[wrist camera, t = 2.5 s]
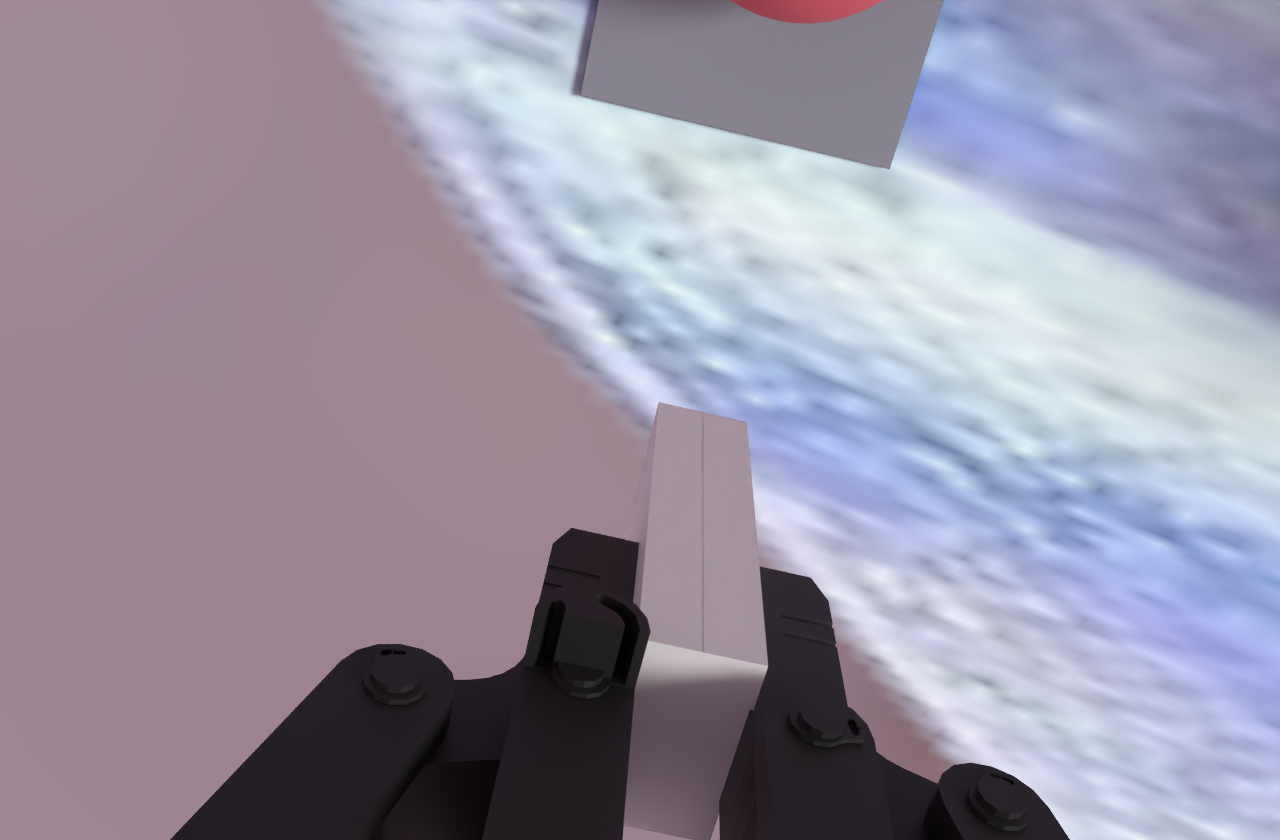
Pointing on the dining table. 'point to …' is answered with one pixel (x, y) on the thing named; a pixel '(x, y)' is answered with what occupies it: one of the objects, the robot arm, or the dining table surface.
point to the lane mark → (766, 70)
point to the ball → (806, 9)
